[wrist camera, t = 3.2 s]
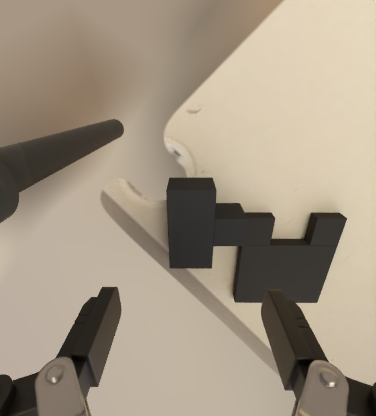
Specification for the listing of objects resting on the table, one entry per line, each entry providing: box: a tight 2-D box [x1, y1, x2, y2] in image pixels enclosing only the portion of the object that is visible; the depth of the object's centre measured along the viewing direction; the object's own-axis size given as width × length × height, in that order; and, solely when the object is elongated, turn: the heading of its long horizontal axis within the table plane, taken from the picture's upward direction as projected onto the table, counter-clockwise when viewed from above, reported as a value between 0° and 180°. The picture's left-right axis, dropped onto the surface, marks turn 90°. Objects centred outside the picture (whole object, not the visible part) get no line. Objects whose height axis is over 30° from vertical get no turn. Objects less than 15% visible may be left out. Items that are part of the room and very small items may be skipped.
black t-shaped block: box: [167, 178, 248, 268], centre depth 26 cm, size 10×8×4 cm
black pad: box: [233, 213, 347, 303], centre depth 30 cm, size 12×14×2 cm
